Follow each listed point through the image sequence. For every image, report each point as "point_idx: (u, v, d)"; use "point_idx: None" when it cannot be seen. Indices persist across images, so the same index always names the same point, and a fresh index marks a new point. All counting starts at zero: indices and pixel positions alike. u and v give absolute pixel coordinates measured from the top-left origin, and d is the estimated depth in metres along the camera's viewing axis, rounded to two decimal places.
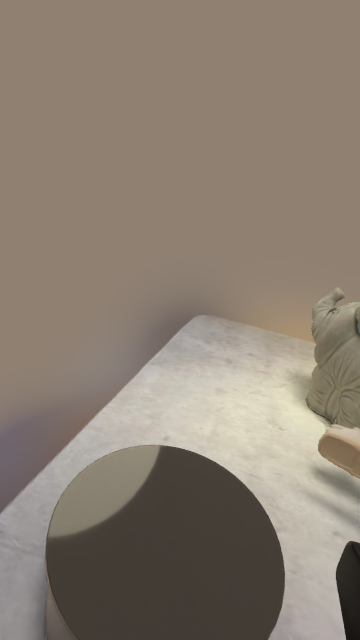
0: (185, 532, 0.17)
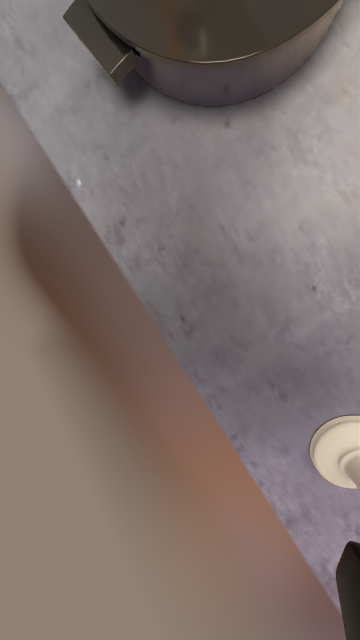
0: None
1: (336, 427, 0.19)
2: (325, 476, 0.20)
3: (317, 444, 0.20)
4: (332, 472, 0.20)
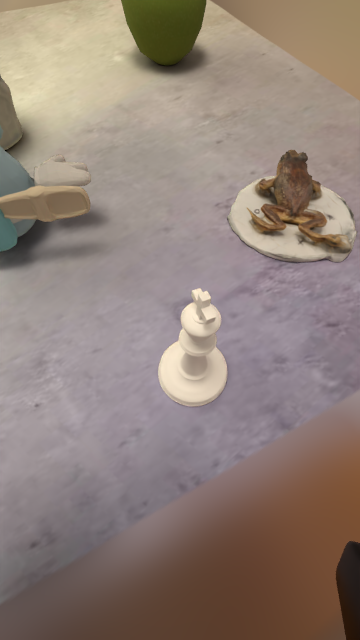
0: None
1: (163, 384, 0.22)
2: (214, 391, 0.21)
3: (181, 399, 0.21)
4: (207, 386, 0.21)
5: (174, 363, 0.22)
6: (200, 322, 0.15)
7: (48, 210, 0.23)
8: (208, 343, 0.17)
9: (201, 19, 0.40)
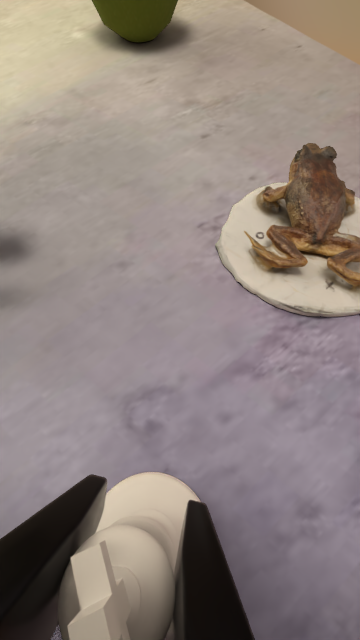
0: None
1: None
2: None
3: None
4: None
5: None
6: None
7: None
8: None
9: None
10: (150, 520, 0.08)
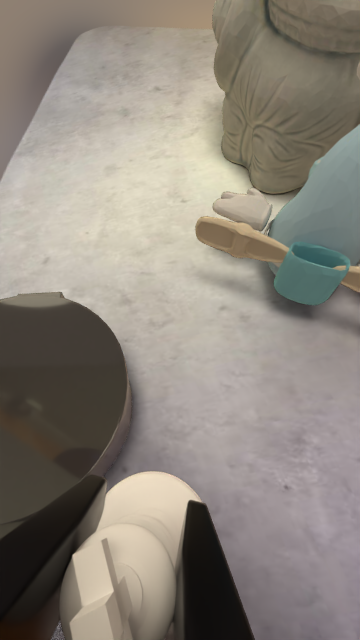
0: (28, 392, 0.17)
1: None
2: None
3: None
4: None
5: None
6: None
7: None
8: None
9: None
10: (151, 518, 0.08)
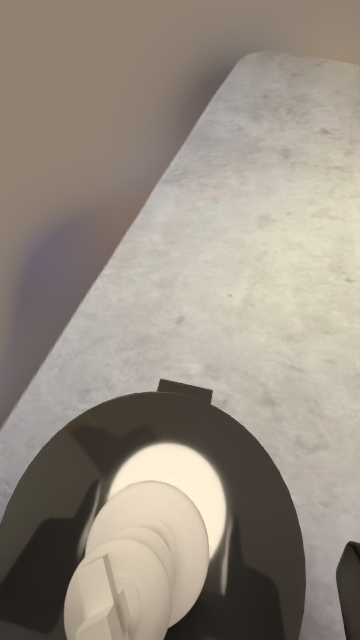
0: None
1: None
2: (184, 608, 0.11)
3: None
4: None
5: None
6: None
7: None
8: None
9: None
10: (149, 530, 0.09)
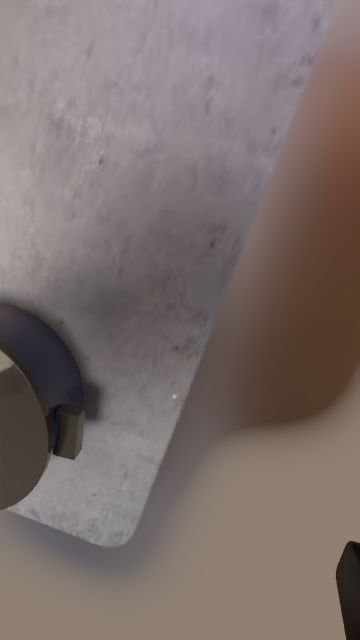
0: None
1: None
2: None
3: None
4: None
5: None
6: None
7: None
8: None
9: None
10: None
